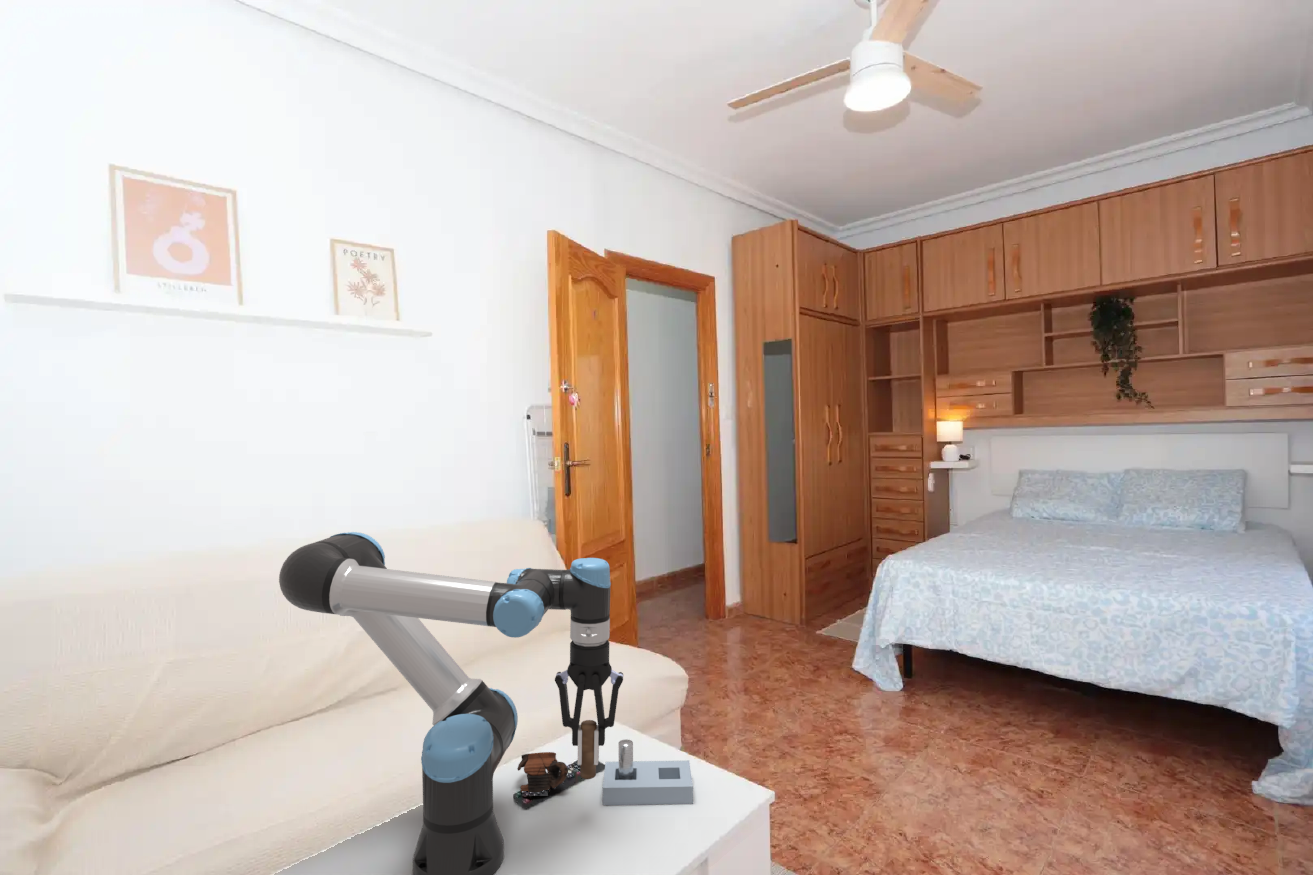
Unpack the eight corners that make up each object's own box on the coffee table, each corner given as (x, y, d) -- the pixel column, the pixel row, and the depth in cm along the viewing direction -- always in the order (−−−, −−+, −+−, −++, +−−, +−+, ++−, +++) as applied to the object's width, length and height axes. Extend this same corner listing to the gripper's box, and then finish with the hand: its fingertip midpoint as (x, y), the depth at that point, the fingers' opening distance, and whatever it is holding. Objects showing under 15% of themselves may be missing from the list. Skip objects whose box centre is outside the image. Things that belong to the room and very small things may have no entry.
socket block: (602, 805, 130) (602, 787, 130) (605, 777, 140) (605, 761, 140) (692, 803, 130) (692, 786, 130) (689, 776, 140) (689, 760, 140)
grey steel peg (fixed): (618, 794, 133) (618, 746, 133) (619, 786, 136) (618, 739, 136) (633, 794, 133) (632, 746, 133) (633, 786, 136) (633, 739, 136)
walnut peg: (579, 778, 124) (580, 727, 124) (581, 770, 127) (581, 719, 127) (595, 778, 124) (596, 727, 124) (596, 770, 127) (597, 719, 127)
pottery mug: (506, 799, 133) (508, 754, 137) (532, 798, 141) (533, 755, 145) (557, 795, 129) (557, 749, 133) (581, 794, 137) (581, 750, 141)
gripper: (546, 646, 121) (545, 771, 122) (629, 647, 121) (628, 771, 122) (552, 633, 128) (550, 751, 129) (630, 634, 129) (628, 751, 129)
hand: (588, 760), depth 126 cm, fingers closed on walnut peg, 2 cm apart
